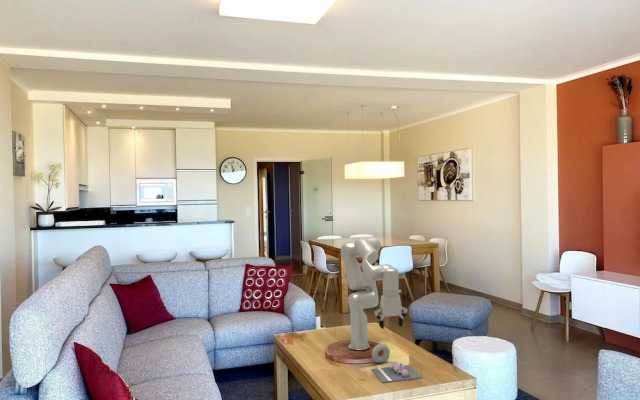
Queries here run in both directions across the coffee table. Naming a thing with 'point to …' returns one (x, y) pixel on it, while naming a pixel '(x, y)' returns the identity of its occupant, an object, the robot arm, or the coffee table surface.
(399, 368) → the rabbit figure
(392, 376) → the mat
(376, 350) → the donut
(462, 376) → the coffee table surface
